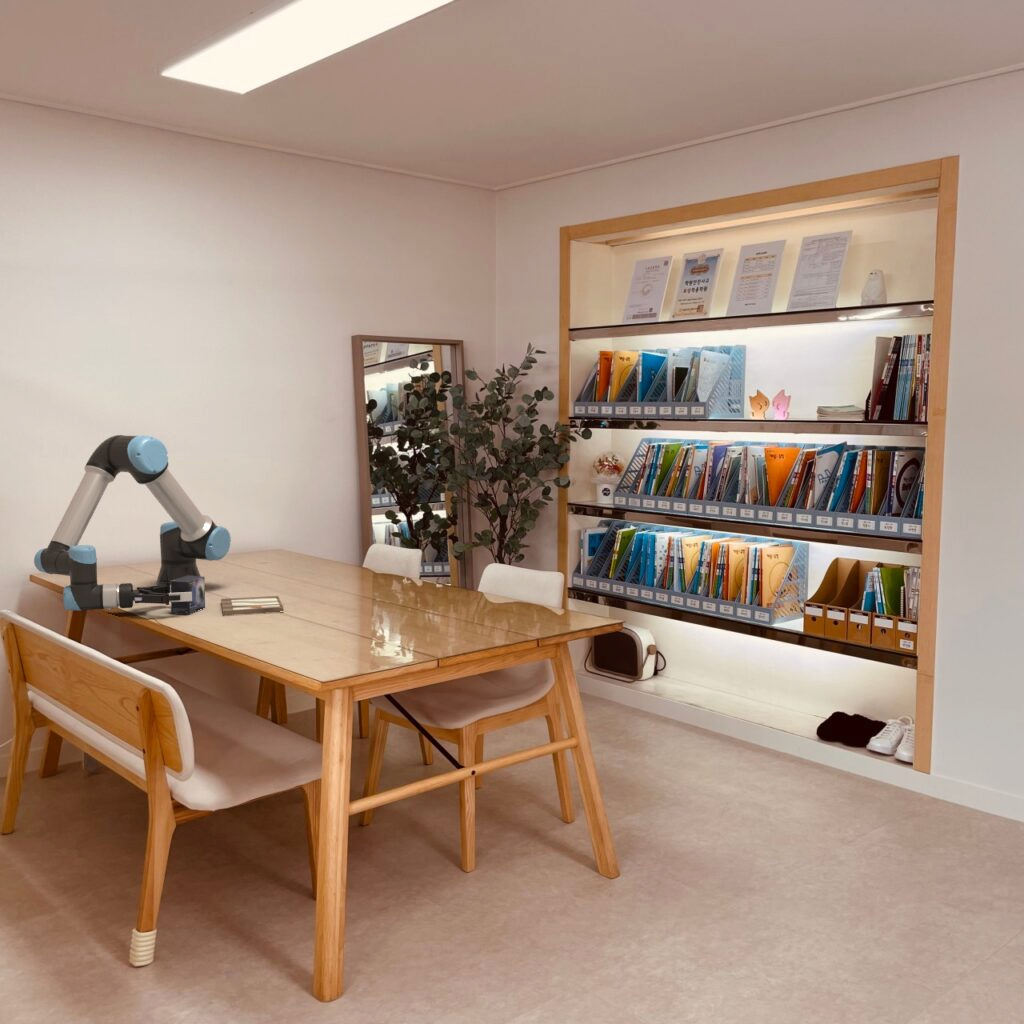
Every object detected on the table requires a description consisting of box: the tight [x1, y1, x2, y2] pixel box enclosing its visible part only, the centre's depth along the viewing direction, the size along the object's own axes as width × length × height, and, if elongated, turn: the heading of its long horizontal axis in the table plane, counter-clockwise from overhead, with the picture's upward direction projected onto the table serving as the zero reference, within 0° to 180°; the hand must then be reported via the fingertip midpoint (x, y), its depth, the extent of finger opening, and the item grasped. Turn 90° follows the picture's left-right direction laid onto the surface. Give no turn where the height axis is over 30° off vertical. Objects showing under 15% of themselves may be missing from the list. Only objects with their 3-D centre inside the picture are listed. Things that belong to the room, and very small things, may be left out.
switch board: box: [220, 595, 284, 616], centre depth 331 cm, size 20×18×2 cm
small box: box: [170, 575, 206, 615], centre depth 325 cm, size 11×6×10 cm, turn 168°
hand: (192, 592), depth 325 cm, fingers open, 13 cm apart
